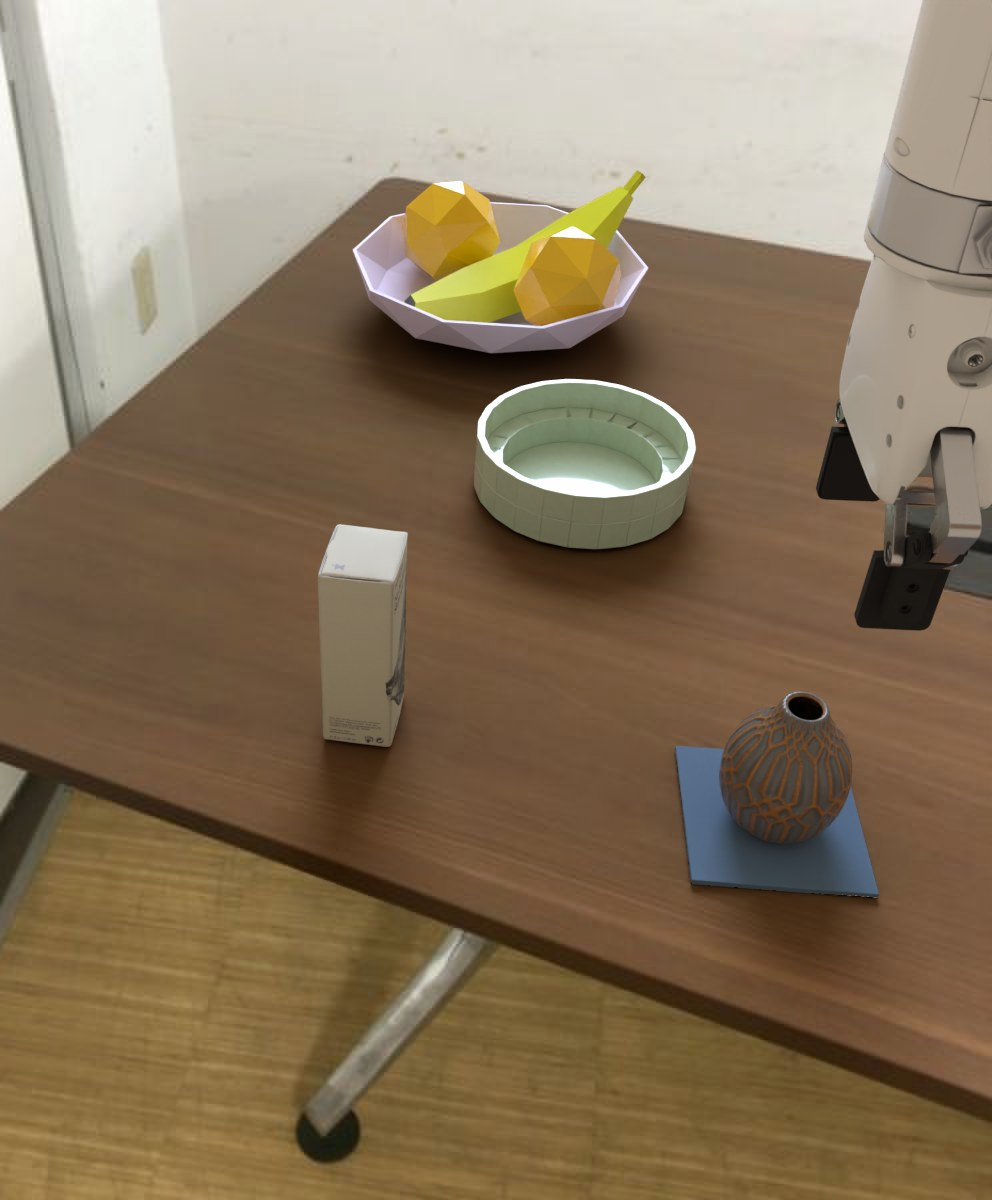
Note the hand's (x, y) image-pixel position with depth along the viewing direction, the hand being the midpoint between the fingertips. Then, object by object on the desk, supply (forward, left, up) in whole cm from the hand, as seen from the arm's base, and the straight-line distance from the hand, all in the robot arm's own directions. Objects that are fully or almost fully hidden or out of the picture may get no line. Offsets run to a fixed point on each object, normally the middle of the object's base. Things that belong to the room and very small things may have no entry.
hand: (867, 557), depth 59 cm
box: (+25, -6, -19) cm, 32 cm away
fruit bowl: (+17, -60, -19) cm, 65 cm away
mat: (+1, 0, -19) cm, 19 cm away
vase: (+1, 0, -19) cm, 19 cm away
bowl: (+11, -32, -19) cm, 38 cm away
